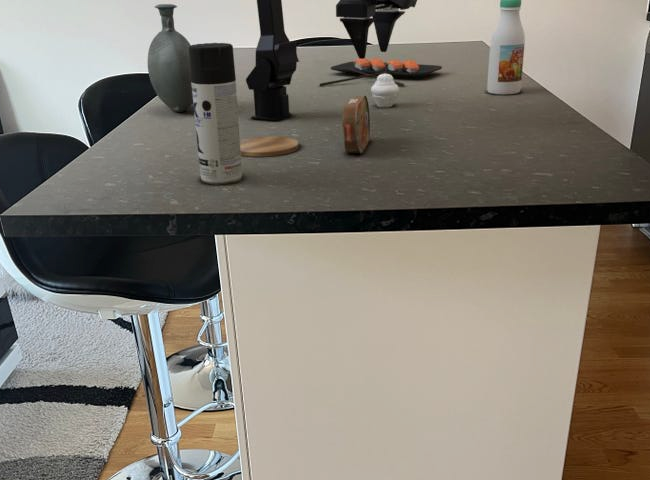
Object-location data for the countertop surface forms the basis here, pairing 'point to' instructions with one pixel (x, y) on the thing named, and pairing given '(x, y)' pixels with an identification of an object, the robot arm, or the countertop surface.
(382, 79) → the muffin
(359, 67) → the sushi plate
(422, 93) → the countertop surface
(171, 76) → the flask
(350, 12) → the robot arm
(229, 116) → the spray can
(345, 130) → the tin
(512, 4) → the milk bottle
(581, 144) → the countertop surface
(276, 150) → the wooden coaster
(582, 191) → the countertop surface
